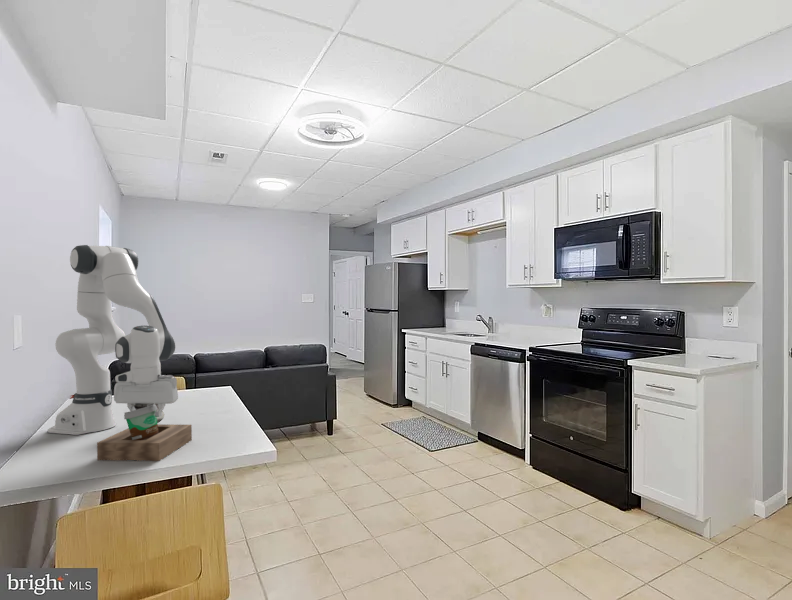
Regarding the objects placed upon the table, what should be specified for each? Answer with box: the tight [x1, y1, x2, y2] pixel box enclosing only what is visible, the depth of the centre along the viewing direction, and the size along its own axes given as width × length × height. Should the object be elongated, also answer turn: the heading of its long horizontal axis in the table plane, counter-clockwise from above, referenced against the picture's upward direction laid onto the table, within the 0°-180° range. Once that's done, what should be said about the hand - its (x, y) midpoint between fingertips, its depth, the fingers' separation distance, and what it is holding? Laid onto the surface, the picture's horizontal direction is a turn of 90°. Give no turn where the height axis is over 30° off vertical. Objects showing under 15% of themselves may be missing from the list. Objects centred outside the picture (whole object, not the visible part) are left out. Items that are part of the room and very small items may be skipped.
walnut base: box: [96, 423, 193, 462], centre depth 153 cm, size 20×20×6 cm
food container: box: [123, 404, 159, 440], centre depth 153 cm, size 12×6×10 cm, turn 174°
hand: (146, 416), depth 153 cm, fingers open, 7 cm apart
